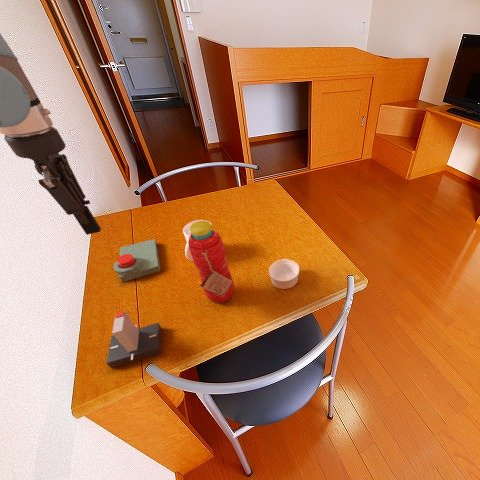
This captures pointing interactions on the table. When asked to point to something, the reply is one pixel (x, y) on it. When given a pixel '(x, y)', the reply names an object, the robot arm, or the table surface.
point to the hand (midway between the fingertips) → (93, 231)
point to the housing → (139, 260)
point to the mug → (187, 235)
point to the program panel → (146, 347)
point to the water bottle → (211, 261)
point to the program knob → (126, 331)
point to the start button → (126, 261)
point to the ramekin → (284, 273)
